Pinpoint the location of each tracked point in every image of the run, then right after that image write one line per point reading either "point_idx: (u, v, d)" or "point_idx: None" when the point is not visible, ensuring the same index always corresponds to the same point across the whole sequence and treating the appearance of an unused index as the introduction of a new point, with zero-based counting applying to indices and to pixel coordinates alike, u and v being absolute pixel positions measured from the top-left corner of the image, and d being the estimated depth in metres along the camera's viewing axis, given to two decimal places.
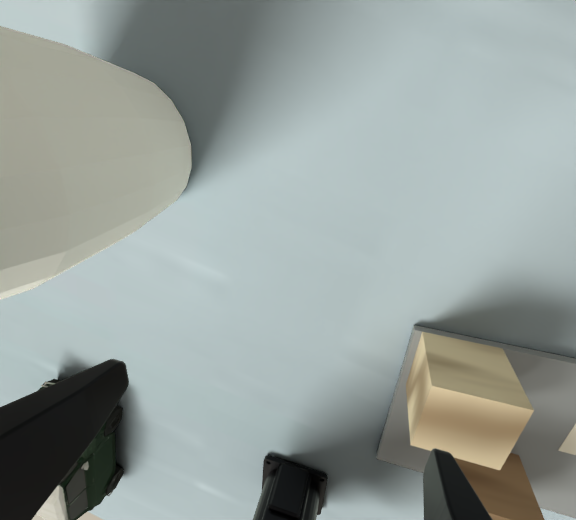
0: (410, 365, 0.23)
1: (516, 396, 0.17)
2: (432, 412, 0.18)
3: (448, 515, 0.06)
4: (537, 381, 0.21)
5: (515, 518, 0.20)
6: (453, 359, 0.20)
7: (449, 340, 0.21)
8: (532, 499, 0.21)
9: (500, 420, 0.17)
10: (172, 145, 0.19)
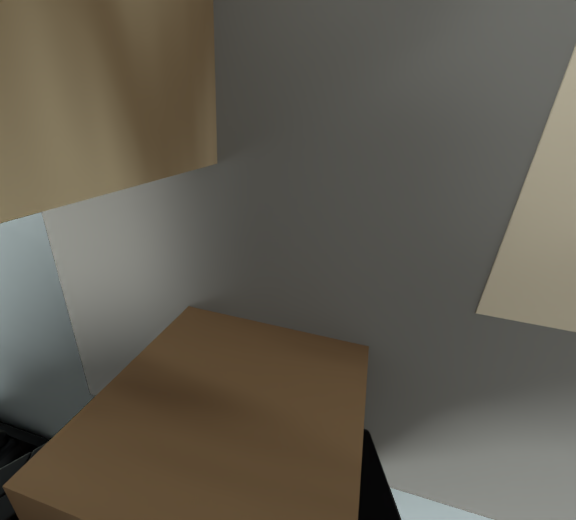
0: None
1: None
2: None
3: None
4: None
5: None
6: None
7: None
8: (344, 468, 0.05)
9: None
10: None
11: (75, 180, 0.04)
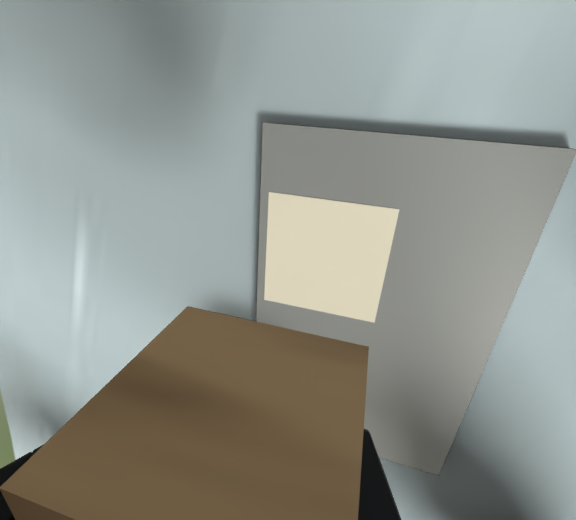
0: None
1: None
2: None
3: None
4: None
5: None
6: None
7: None
8: (344, 469, 0.05)
9: None
10: None
11: None
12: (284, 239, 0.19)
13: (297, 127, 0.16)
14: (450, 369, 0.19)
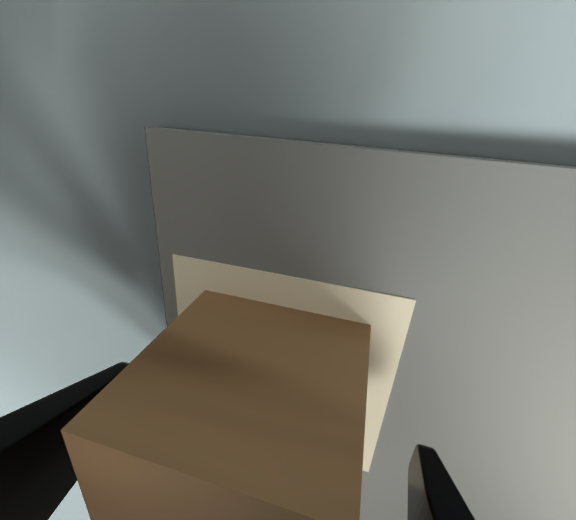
0: None
1: None
2: None
3: (428, 509, 0.06)
4: None
5: (240, 480, 0.05)
6: None
7: None
8: (350, 420, 0.06)
9: None
10: None
11: None
12: None
13: (209, 137, 0.08)
14: None
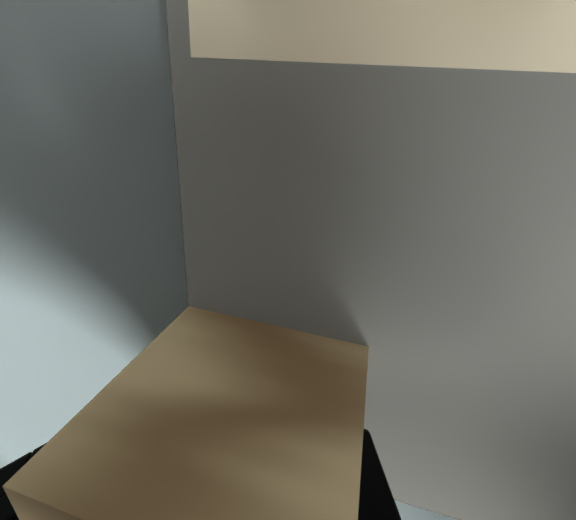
0: None
1: None
2: None
3: None
4: (257, 224, 0.07)
5: None
6: None
7: None
8: None
9: None
10: None
11: (341, 496, 0.05)
12: None
13: None
14: None
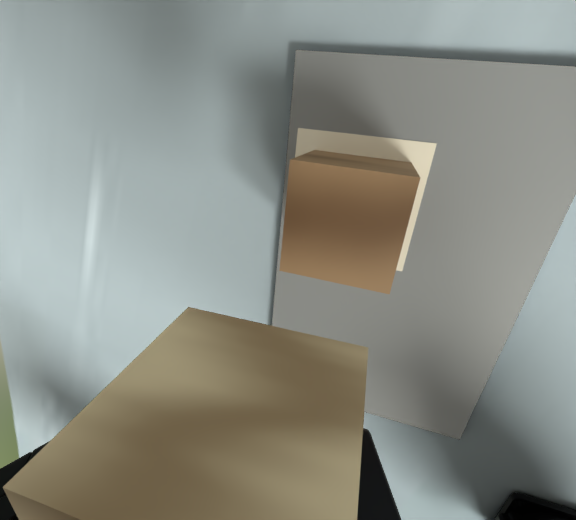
0: None
1: None
2: None
3: None
4: (303, 298, 0.21)
5: (371, 169, 0.12)
6: None
7: None
8: (410, 169, 0.13)
9: None
10: None
11: (341, 497, 0.05)
12: None
13: (332, 54, 0.15)
14: (480, 322, 0.18)
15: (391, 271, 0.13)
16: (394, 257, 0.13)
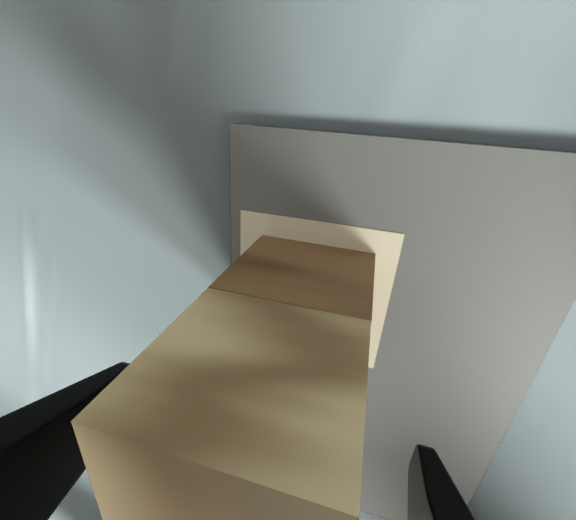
0: None
1: None
2: None
3: (428, 509, 0.06)
4: None
5: (309, 304, 0.09)
6: None
7: None
8: (365, 288, 0.11)
9: (141, 485, 0.06)
10: None
11: (350, 431, 0.06)
12: None
13: (273, 129, 0.13)
14: (467, 425, 0.16)
15: None
16: None
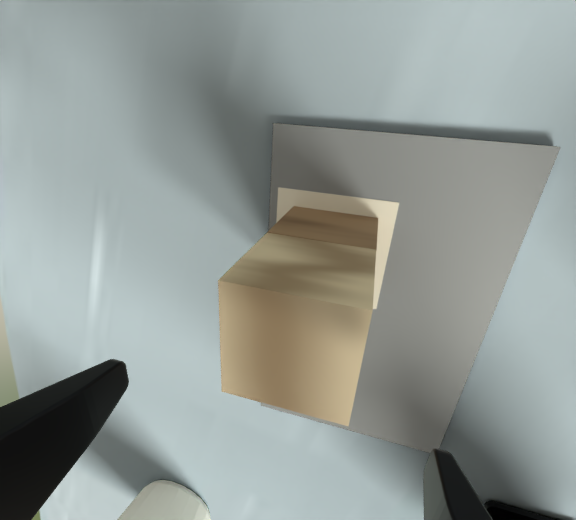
0: None
1: None
2: (268, 394, 0.12)
3: (448, 515, 0.06)
4: None
5: (335, 241, 0.14)
6: None
7: None
8: (371, 235, 0.16)
9: (252, 317, 0.11)
10: (151, 506, 0.34)
11: (366, 287, 0.11)
12: None
13: (305, 127, 0.17)
14: (447, 352, 0.21)
15: None
16: None
